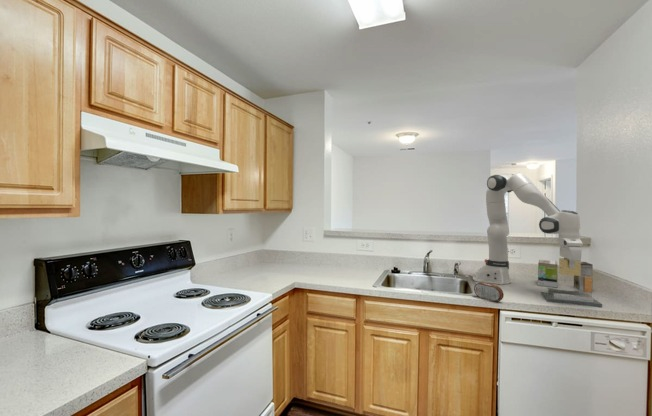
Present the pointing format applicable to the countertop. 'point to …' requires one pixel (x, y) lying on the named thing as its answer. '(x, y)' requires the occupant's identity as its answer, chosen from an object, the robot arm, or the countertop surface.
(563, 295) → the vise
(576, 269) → the brass block
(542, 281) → the tea box
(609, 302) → the countertop surface
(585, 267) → the coffee box
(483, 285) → the tin
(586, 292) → the sliding jaw
